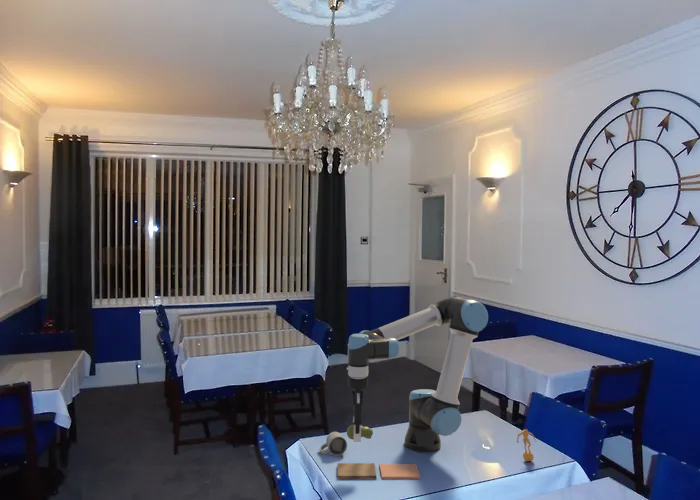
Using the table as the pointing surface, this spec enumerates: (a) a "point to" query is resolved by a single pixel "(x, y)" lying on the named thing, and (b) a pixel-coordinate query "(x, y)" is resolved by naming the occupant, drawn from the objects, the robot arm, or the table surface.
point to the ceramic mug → (334, 444)
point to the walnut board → (356, 471)
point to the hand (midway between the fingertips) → (356, 437)
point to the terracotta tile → (399, 471)
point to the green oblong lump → (365, 432)
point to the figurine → (527, 454)
